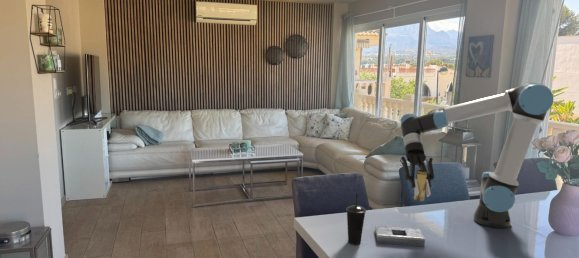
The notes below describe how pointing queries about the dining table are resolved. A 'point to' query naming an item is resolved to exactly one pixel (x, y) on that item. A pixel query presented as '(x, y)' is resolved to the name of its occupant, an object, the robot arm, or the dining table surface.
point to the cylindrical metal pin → (421, 184)
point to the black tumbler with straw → (355, 223)
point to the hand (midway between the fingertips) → (422, 195)
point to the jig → (399, 236)
